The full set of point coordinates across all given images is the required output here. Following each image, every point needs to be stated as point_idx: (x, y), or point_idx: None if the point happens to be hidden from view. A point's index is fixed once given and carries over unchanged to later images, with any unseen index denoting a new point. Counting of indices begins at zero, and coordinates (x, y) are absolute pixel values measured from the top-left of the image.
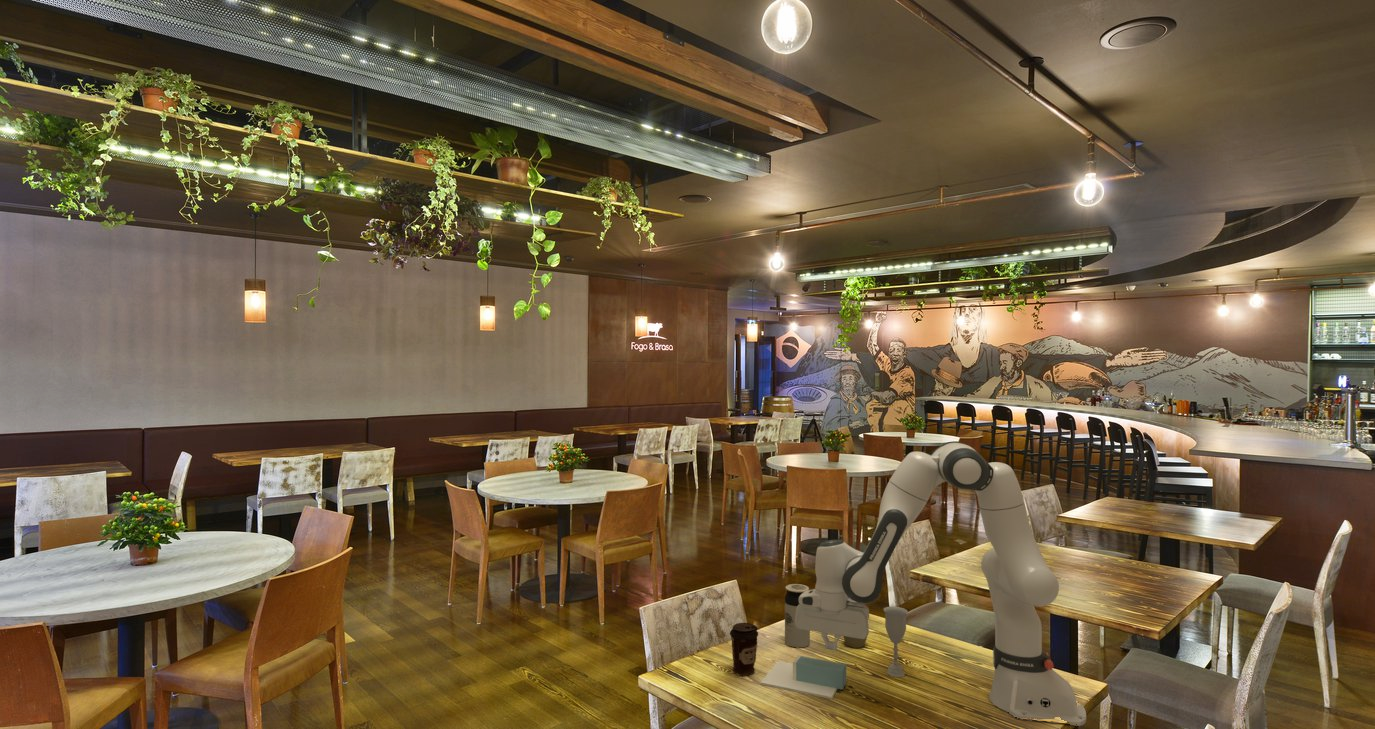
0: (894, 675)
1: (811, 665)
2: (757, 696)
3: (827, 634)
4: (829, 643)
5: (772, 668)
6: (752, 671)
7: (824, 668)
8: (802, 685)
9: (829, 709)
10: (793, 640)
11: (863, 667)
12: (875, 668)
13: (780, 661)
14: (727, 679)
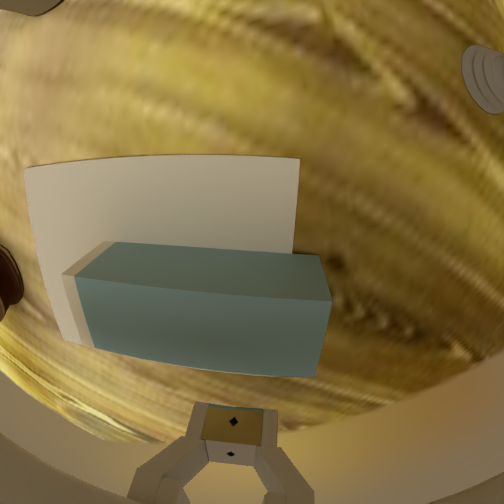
0: (490, 110)
1: (158, 361)
2: (98, 386)
3: (183, 491)
4: (222, 461)
5: (35, 241)
6: (18, 291)
7: (223, 369)
8: None
9: (278, 411)
10: (28, 8)
11: (368, 38)
12: (418, 40)
13: (29, 170)
14: (13, 323)
